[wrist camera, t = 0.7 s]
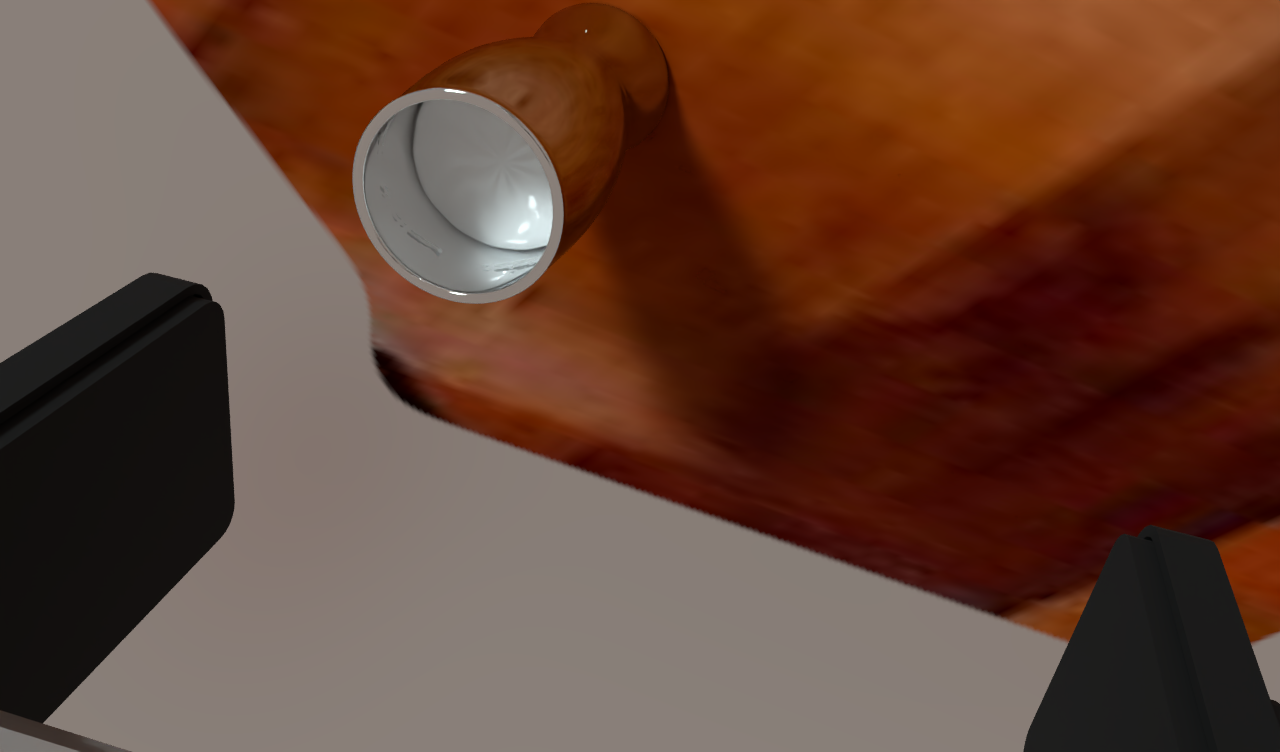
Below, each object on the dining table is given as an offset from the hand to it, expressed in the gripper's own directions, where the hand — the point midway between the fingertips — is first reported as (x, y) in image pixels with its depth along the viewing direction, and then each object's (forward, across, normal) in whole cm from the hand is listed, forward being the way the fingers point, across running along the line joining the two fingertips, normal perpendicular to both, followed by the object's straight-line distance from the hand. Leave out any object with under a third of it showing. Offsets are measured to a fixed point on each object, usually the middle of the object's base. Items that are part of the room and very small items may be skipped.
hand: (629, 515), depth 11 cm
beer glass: (+34, +10, +6) cm, 36 cm away
